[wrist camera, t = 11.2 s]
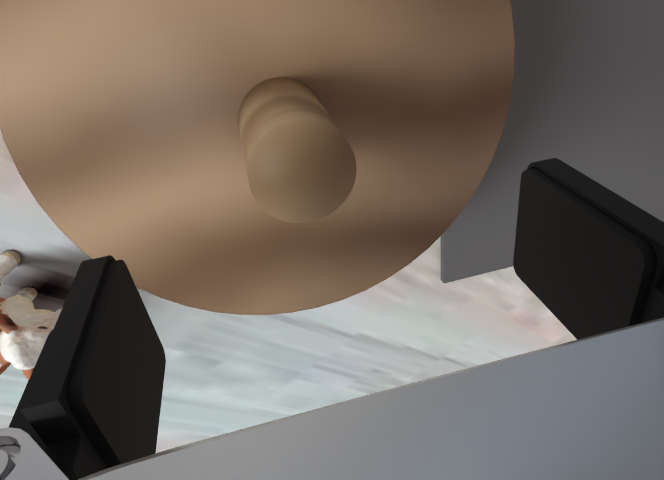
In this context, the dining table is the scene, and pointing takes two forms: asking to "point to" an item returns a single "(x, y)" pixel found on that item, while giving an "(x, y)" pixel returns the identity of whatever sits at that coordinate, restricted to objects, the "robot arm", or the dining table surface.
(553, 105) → the mat
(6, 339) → the bull figurine
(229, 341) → the dining table surface
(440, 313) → the dining table surface
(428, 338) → the dining table surface
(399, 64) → the lid
